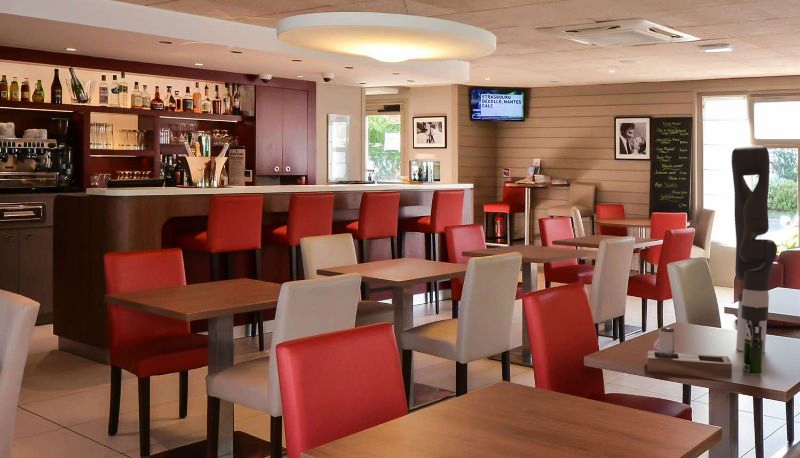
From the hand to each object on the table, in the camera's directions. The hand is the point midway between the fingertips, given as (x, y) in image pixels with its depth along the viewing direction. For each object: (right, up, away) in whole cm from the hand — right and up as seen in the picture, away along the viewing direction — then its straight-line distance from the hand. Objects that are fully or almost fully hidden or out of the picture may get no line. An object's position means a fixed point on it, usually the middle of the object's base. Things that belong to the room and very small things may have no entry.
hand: (752, 356), depth 253 cm
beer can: (0, -6, +1) cm, 6 cm away
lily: (-23, -4, +19) cm, 30 cm away
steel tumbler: (-26, -4, +3) cm, 26 cm away
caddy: (-20, -5, +1) cm, 20 cm away
